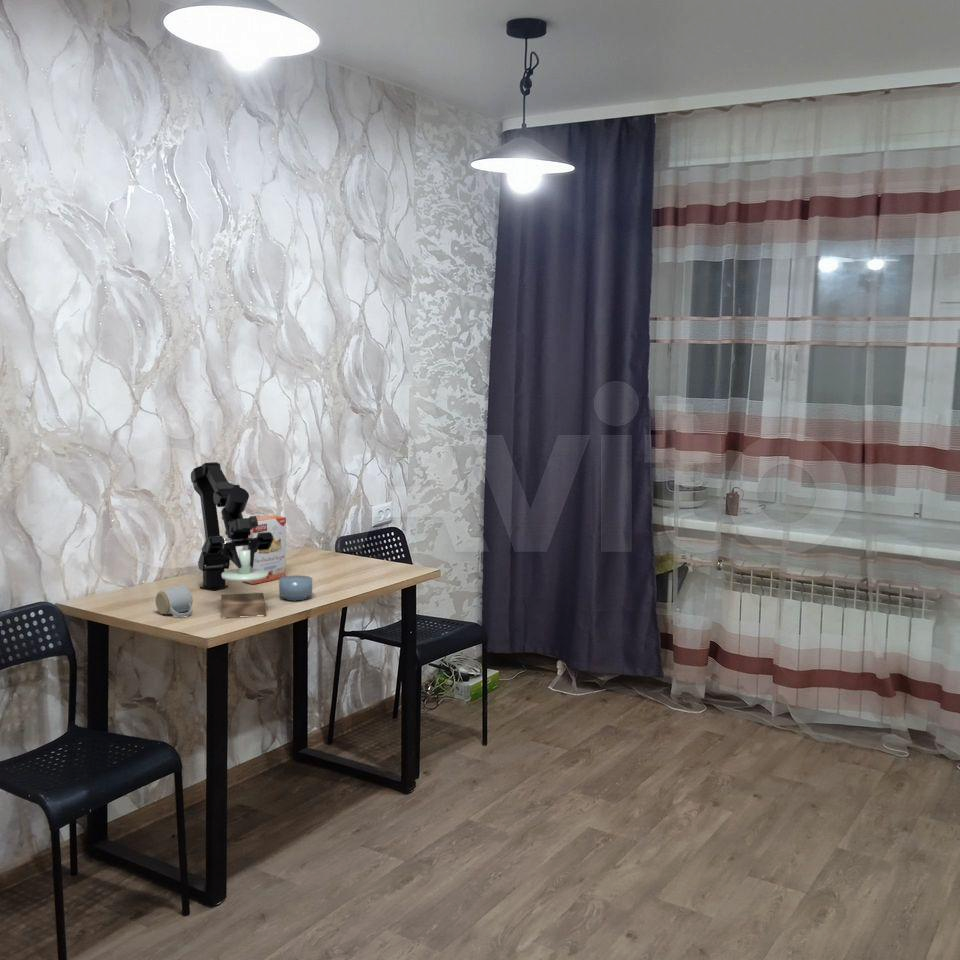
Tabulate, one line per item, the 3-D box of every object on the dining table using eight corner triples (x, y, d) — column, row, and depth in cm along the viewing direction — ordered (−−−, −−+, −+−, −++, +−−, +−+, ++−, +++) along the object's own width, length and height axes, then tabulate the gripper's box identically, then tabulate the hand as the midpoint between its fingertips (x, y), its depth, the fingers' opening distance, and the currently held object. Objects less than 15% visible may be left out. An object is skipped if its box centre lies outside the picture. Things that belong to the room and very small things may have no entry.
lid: (211, 577, 280) (211, 551, 279) (242, 569, 291) (242, 544, 290) (246, 583, 274) (246, 557, 273) (277, 574, 285) (277, 549, 284)
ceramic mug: (153, 613, 281) (153, 587, 280) (179, 607, 287) (178, 582, 286) (174, 620, 274) (174, 594, 273) (199, 615, 280) (199, 589, 279)
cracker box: (253, 585, 316) (253, 521, 314) (241, 582, 320) (241, 519, 317) (287, 578, 327) (286, 516, 325) (274, 575, 331) (274, 514, 328)
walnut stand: (222, 618, 276) (222, 604, 276) (221, 607, 288) (221, 594, 287) (265, 616, 280) (265, 602, 279) (263, 605, 291) (263, 592, 290)
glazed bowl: (272, 599, 299) (272, 580, 298) (293, 592, 308) (293, 574, 307) (297, 603, 294) (297, 584, 293) (318, 597, 303) (318, 578, 302)
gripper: (207, 508, 279) (219, 554, 271) (271, 505, 288) (284, 548, 280) (200, 531, 286) (211, 576, 279) (262, 527, 296) (275, 570, 288)
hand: (246, 567), depth 281 cm, fingers closed on lid, 3 cm apart
